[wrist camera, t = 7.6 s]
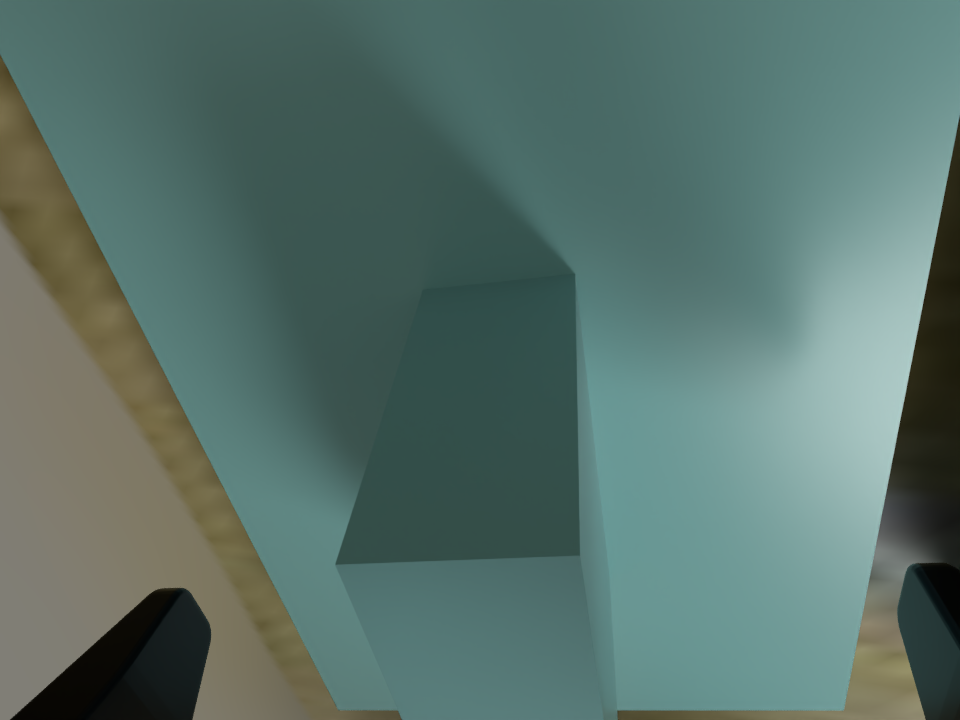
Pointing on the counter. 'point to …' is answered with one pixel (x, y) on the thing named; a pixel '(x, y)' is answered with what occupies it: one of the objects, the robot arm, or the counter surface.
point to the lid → (527, 318)
